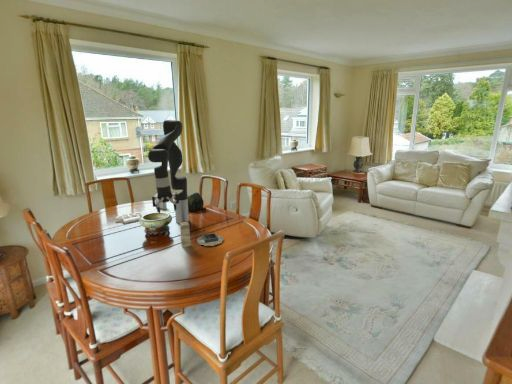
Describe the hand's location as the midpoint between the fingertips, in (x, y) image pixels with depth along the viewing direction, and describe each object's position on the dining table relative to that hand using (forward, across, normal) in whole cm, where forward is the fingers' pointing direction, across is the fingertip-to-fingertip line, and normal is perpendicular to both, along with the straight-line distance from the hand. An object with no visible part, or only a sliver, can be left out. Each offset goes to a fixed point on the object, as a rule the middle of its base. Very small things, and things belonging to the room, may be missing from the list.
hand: (167, 211), depth 168 cm
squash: (+26, -20, -66) cm, 74 cm away
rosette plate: (+23, -22, +2) cm, 32 cm away
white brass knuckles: (+23, +28, -55) cm, 66 cm away
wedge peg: (+22, -8, +3) cm, 23 cm away
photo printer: (+25, +6, -78) cm, 82 cm away
